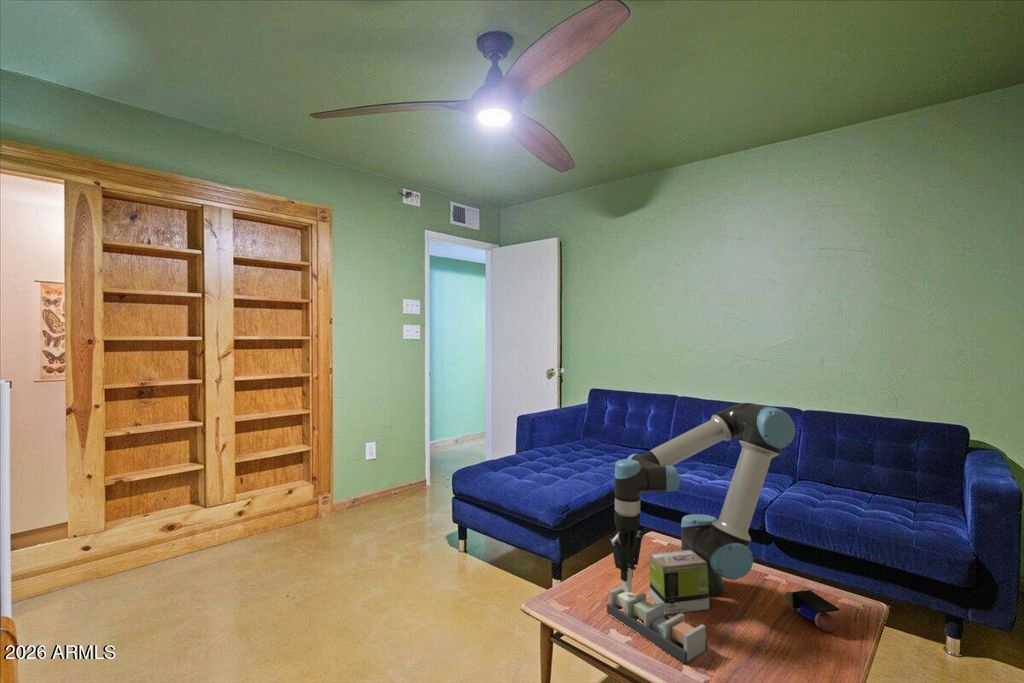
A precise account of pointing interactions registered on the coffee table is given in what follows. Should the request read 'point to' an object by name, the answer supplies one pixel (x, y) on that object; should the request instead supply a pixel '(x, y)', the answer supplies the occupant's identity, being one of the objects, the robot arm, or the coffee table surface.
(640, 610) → the sage key
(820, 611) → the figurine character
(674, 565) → the tea box
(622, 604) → the ivory key
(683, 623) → the terracotta key
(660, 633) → the slate key
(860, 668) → the coffee table surface
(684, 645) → the keypad base
